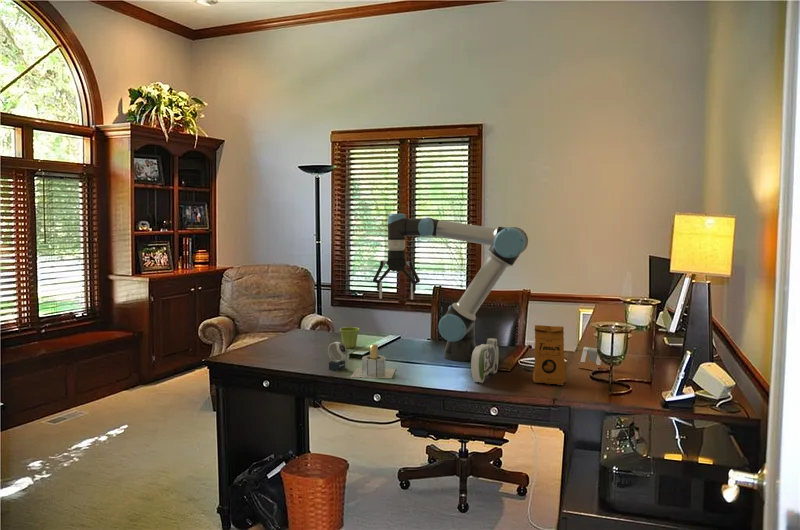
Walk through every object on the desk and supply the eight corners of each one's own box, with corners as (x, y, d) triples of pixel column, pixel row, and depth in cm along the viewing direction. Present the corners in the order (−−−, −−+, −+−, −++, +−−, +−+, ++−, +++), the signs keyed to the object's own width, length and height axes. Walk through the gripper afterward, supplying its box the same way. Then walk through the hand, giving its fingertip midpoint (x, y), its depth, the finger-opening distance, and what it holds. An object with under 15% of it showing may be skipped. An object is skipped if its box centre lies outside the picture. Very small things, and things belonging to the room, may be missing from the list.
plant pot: (358, 349, 294) (358, 330, 293) (338, 349, 294) (338, 330, 293) (360, 344, 303) (360, 327, 302) (340, 344, 303) (340, 327, 302)
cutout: (492, 337, 256) (471, 344, 233) (499, 337, 255) (478, 344, 232) (491, 374, 256) (470, 384, 234) (497, 374, 255) (477, 385, 233)
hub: (386, 369, 255) (386, 355, 254) (383, 375, 246) (383, 360, 245) (364, 369, 256) (364, 354, 255) (360, 375, 247) (360, 360, 246)
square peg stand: (395, 369, 257) (396, 342, 256) (391, 378, 243) (391, 349, 242) (357, 368, 259) (357, 341, 258) (350, 377, 245) (350, 348, 244)
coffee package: (564, 388, 231) (566, 329, 229) (530, 384, 236) (532, 326, 234) (567, 381, 241) (568, 324, 239) (534, 378, 245) (535, 322, 243)
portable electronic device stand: (577, 368, 260) (578, 348, 259) (586, 365, 265) (586, 345, 265) (597, 372, 254) (597, 352, 253) (605, 368, 260) (606, 349, 259)
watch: (341, 371, 253) (341, 344, 252) (325, 369, 257) (325, 342, 256) (349, 368, 258) (349, 342, 257) (332, 366, 262) (332, 340, 261)
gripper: (366, 249, 267) (366, 299, 269) (424, 250, 264) (424, 300, 266) (369, 248, 275) (369, 296, 277) (426, 249, 272) (425, 298, 274)
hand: (396, 298), depth 272 cm, fingers open, 13 cm apart
